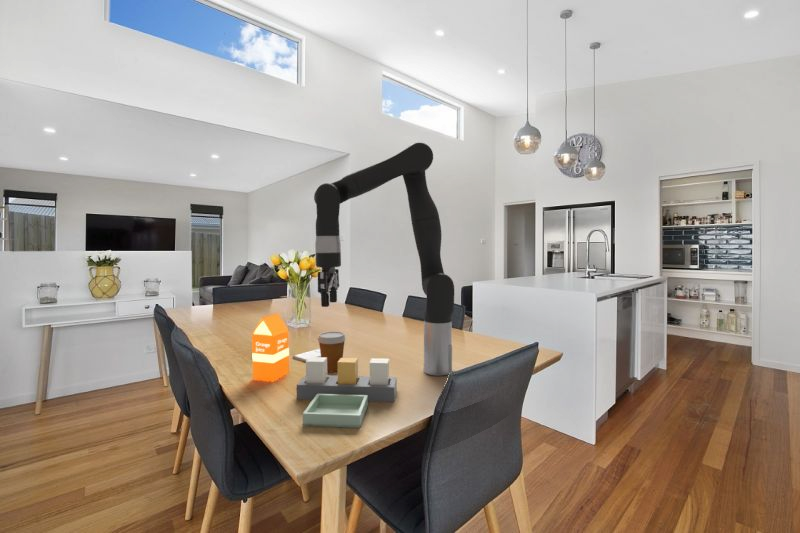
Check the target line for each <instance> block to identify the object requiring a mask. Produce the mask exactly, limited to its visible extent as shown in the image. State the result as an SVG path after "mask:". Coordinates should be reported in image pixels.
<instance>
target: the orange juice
mask: <svg viewBox="0 0 800 533" xmlns="http://www.w3.org/2000/svg"><path fill="white" fill-rule="evenodd" d="M289 336H290V335H289V329H288V327H287V325H286V324H285V322H284V320H283V319H282V318H281V316H280V314H279V313H278V312H276V313H274V314H271V315H266V316H264V317H261V319H260V320H259V322H258V324H257V325H256V327H255V329H254V331H253V332H252V334H251V344H252V345H251V346H252V349H251V351H252V356H251V357H252V361H251V362H252V380H253V379H254V380H253V381H260V380H263V381H262V382H269V381H271V382H270V383H275V382H277V381H278V380H279V378H280V379H281V378H284V375H285V376H286V375H288V374H289V373H290V346H289V345H290V344H289V343H290V342H289V341H290V338H289ZM274 381H275V382H274Z"/></svg>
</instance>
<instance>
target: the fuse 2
mask: <svg viewBox="0 0 800 533" xmlns="http://www.w3.org/2000/svg"><path fill="white" fill-rule="evenodd" d="M369 376H370V385H389V377H390V358H372V357H371V358H370V361H369Z"/></svg>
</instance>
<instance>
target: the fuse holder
mask: <svg viewBox="0 0 800 533" xmlns="http://www.w3.org/2000/svg"><path fill="white" fill-rule="evenodd" d="M397 387H398V386H397V376H389V385H370V375H358V383H357V384H338V374H336V375H333V374H331V375H330V374H327V381H326V383H325V384H324V383H306V374H305V375H304V376H303V377H302V378H301V380H300V381H299V382H298V383H297V384H296V400H313V399H314V397H315V396H316V395H317V394H345V395H368V402H389V403H390V402H391V403H395V401H396V400H395V399H396V394H397Z"/></svg>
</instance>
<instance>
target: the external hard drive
mask: <svg viewBox="0 0 800 533" xmlns="http://www.w3.org/2000/svg"><path fill="white" fill-rule="evenodd" d="M310 357H321V352H320V348H316V349H313V350H310V351H306V352H302V353H299V354H294V355H292V358H293V359H295V360H298V361H301V362H304V363H306V361H307V360H308V359H309V358H310Z"/></svg>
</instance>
